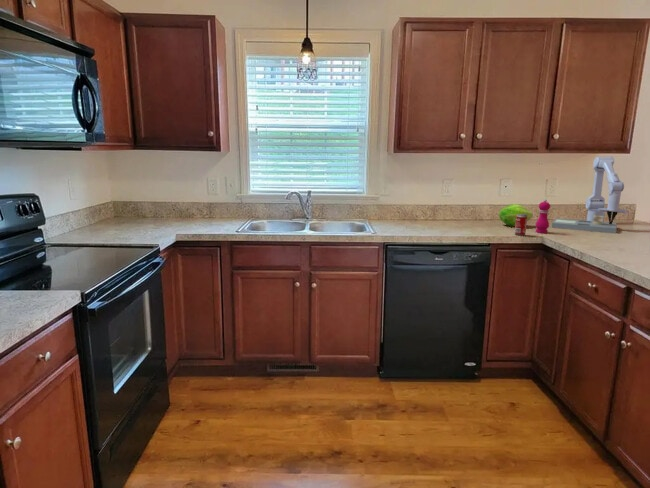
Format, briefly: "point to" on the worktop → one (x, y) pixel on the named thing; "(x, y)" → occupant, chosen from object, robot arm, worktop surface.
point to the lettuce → (513, 214)
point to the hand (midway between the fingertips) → (610, 223)
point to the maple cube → (597, 220)
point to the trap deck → (584, 225)
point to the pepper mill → (543, 217)
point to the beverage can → (520, 224)
